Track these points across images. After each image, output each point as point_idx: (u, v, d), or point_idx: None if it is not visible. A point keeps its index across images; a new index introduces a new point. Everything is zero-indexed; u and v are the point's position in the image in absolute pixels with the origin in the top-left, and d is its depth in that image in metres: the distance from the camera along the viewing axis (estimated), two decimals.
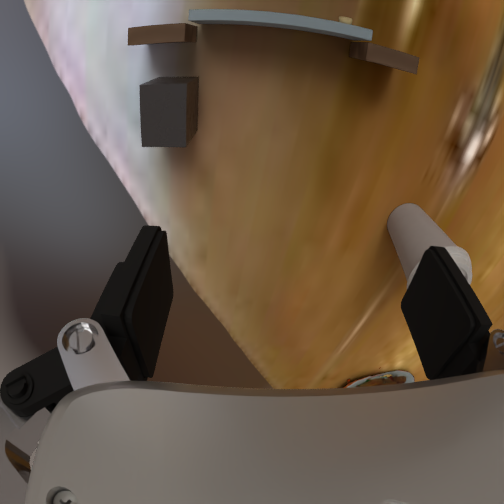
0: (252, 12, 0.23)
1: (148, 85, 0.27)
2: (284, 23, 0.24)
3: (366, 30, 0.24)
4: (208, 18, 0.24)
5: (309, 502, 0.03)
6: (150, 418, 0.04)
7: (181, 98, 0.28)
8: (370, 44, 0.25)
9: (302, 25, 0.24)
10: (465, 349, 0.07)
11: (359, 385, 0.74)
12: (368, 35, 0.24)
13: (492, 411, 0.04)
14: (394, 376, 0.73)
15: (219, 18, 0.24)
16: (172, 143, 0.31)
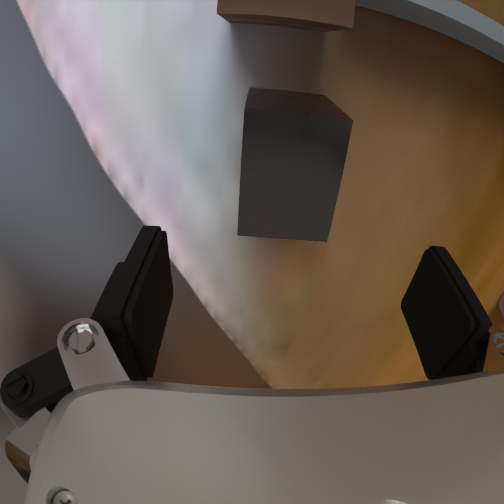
0: (472, 11, 0.09)
1: (265, 111, 0.13)
2: None
3: None
4: None
5: (309, 502, 0.03)
6: (150, 418, 0.04)
7: (336, 150, 0.14)
8: None
9: None
10: (465, 349, 0.07)
11: None
12: None
13: (492, 411, 0.04)
14: None
15: (422, 2, 0.09)
16: (301, 233, 0.17)
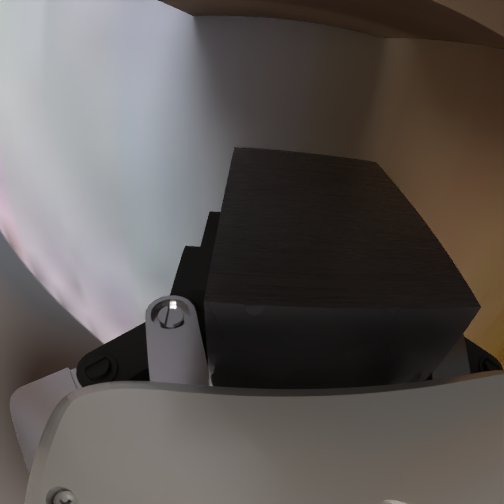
0: None
1: (268, 308, 0.05)
2: None
3: None
4: None
5: (309, 502, 0.03)
6: (150, 418, 0.04)
7: (425, 359, 0.06)
8: None
9: None
10: None
11: None
12: None
13: (492, 411, 0.04)
14: None
15: None
16: None
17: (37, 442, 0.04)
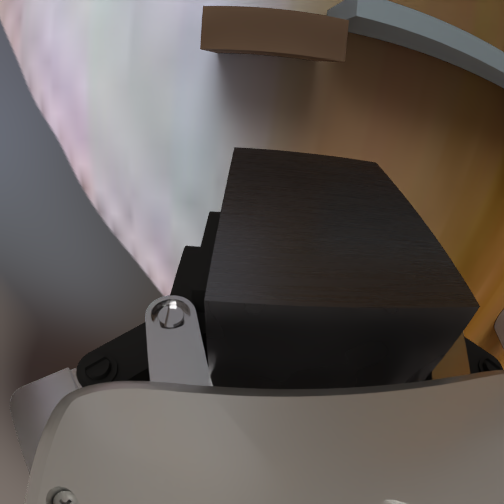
0: (470, 37, 0.09)
1: (268, 307, 0.05)
2: None
3: None
4: (397, 23, 0.10)
5: (309, 502, 0.03)
6: (150, 418, 0.04)
7: (425, 359, 0.06)
8: None
9: None
10: None
11: None
12: None
13: (492, 411, 0.04)
14: None
15: (418, 30, 0.10)
16: None
17: (37, 442, 0.04)
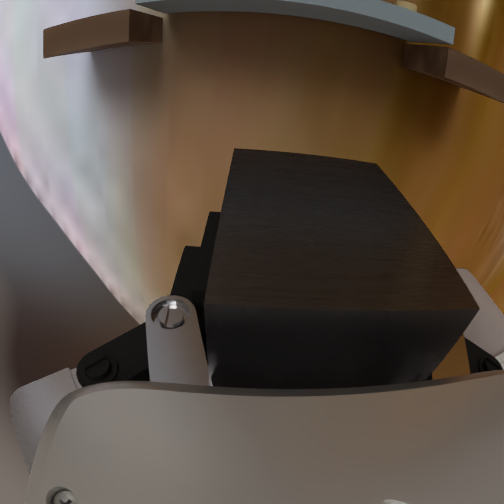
0: None
1: (268, 310, 0.05)
2: (310, 2, 0.12)
3: (446, 27, 0.12)
4: None
5: (309, 502, 0.03)
6: (150, 418, 0.04)
7: (425, 361, 0.06)
8: (451, 51, 0.13)
9: (342, 7, 0.12)
10: None
11: None
12: (449, 35, 0.12)
13: (492, 411, 0.04)
14: None
15: None
16: None
17: (37, 442, 0.04)
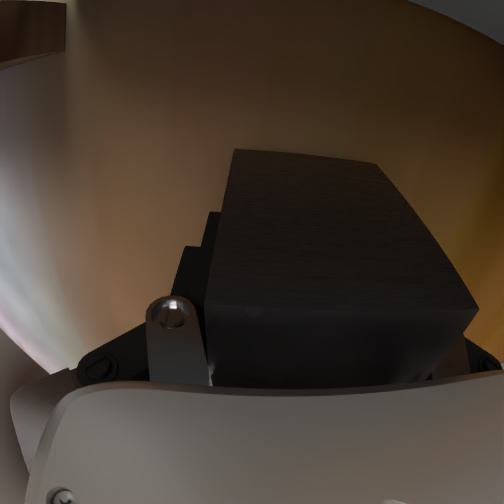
0: None
1: (268, 310, 0.05)
2: None
3: None
4: None
5: (309, 502, 0.03)
6: (150, 418, 0.04)
7: (424, 361, 0.06)
8: None
9: None
10: None
11: None
12: None
13: (492, 411, 0.04)
14: None
15: None
16: None
17: (37, 442, 0.04)
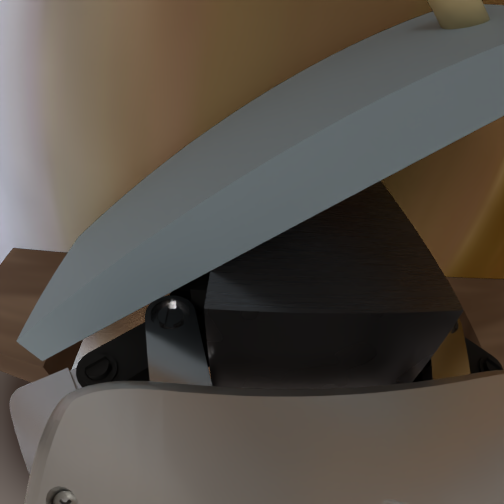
0: (111, 277, 0.06)
1: (262, 313, 0.05)
2: (263, 235, 0.05)
3: None
4: (59, 346, 0.08)
5: (309, 502, 0.03)
6: (150, 418, 0.04)
7: (413, 359, 0.06)
8: None
9: (354, 185, 0.05)
10: None
11: None
12: None
13: (492, 411, 0.04)
14: None
15: (73, 338, 0.08)
16: None
17: (37, 442, 0.04)
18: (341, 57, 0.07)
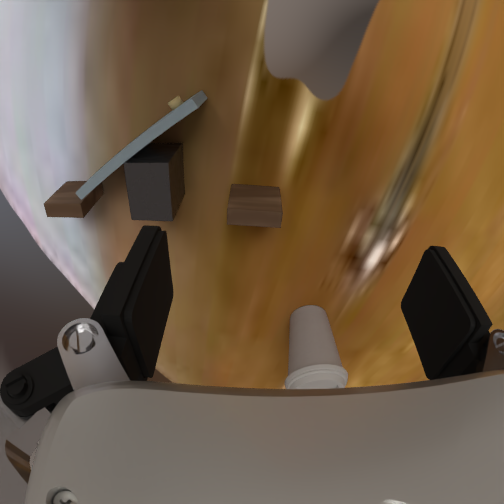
0: (107, 165, 0.31)
1: (132, 163, 0.30)
2: (131, 155, 0.30)
3: (187, 103, 0.27)
4: (89, 190, 0.33)
5: (309, 502, 0.03)
6: (150, 418, 0.04)
7: (164, 176, 0.31)
8: (229, 210, 0.34)
9: (143, 146, 0.30)
10: (465, 349, 0.07)
11: None
12: (192, 105, 0.27)
13: (492, 411, 0.04)
14: None
15: (95, 185, 0.32)
16: (159, 217, 0.34)
17: None
18: (161, 118, 0.32)
